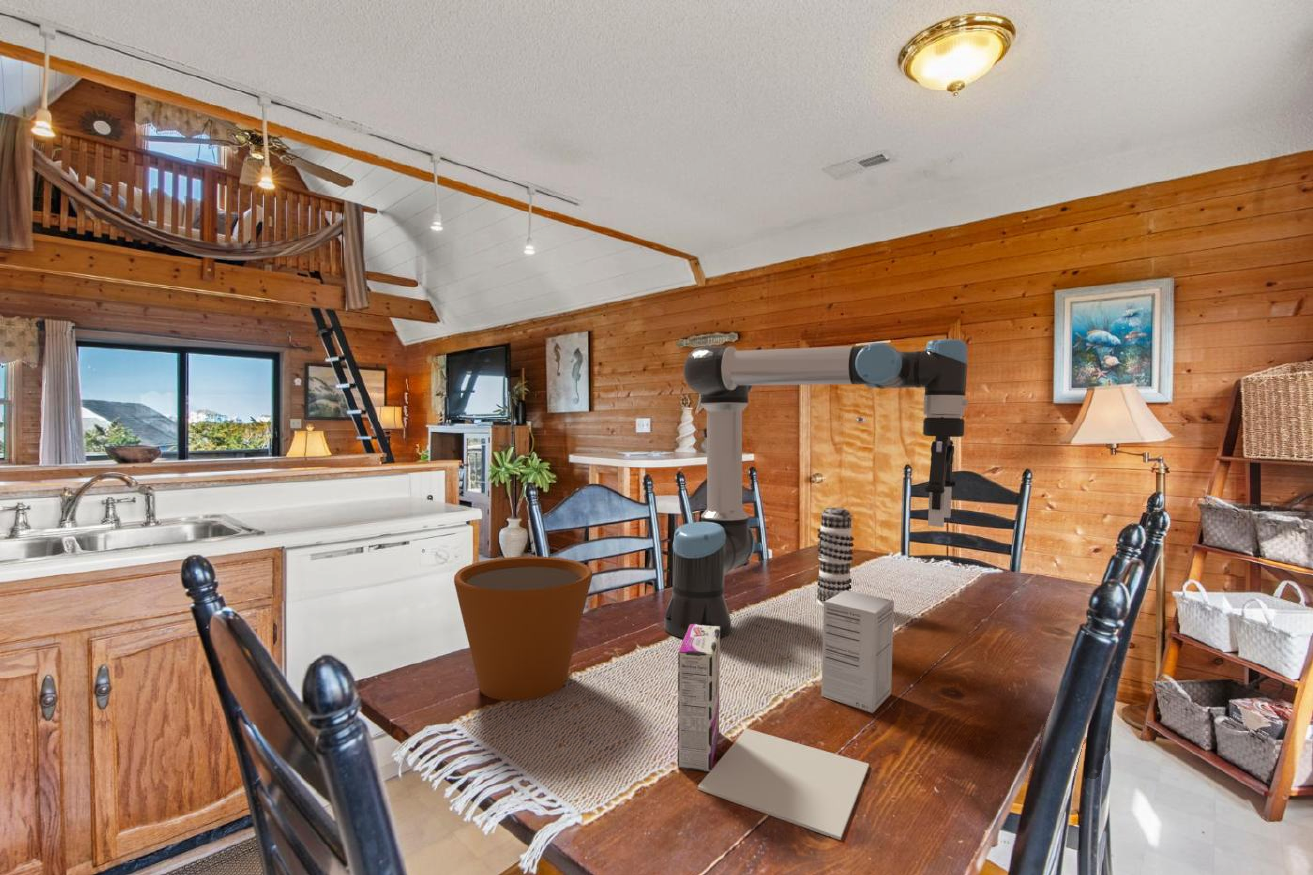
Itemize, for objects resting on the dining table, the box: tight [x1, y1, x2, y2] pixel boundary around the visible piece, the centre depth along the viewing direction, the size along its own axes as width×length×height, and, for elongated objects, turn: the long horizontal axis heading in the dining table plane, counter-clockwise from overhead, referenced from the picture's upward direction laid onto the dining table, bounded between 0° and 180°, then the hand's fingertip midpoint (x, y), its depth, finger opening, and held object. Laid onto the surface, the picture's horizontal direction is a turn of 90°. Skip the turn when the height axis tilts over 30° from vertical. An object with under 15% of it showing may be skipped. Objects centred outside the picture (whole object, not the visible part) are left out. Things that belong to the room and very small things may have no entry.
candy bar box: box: [677, 624, 721, 773], centre depth 86 cm, size 11×5×16 cm, turn 168°
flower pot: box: [453, 556, 593, 702], centre depth 107 cm, size 24×24×20 cm
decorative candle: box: [816, 507, 855, 608], centre depth 156 cm, size 9×9×25 cm
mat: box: [697, 727, 870, 841], centre depth 80 cm, size 18×17×1 cm
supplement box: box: [820, 590, 895, 714], centre depth 104 cm, size 10×9×17 cm
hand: (939, 521), depth 122 cm, fingers open, 13 cm apart
